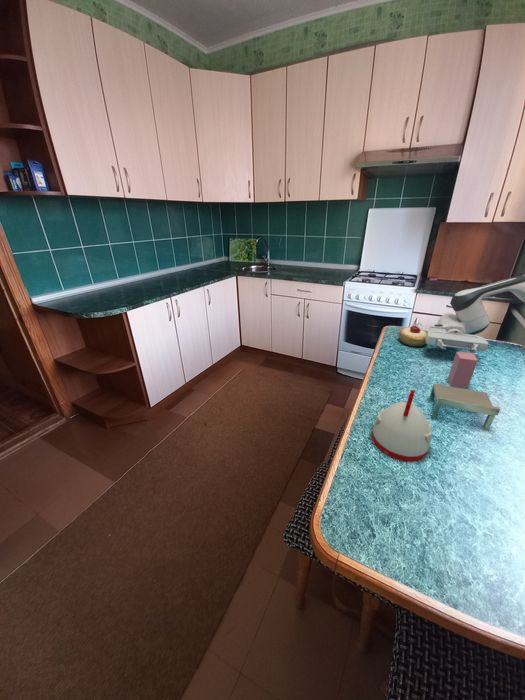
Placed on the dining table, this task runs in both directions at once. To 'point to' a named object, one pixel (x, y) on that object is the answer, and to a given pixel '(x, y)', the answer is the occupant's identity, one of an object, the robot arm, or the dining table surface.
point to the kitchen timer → (402, 431)
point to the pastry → (413, 336)
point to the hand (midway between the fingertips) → (458, 349)
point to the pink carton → (462, 369)
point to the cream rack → (463, 401)
